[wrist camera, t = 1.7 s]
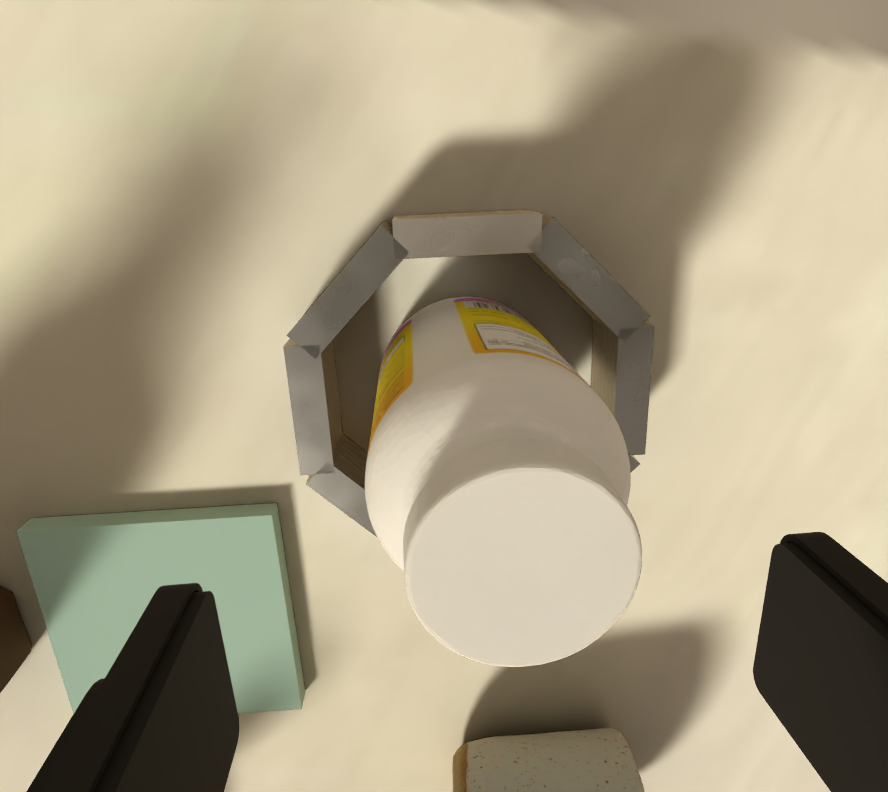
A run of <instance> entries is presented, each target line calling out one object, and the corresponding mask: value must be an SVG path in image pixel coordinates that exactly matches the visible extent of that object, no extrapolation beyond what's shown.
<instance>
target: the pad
mask: <svg viewBox="0 0 888 792" xmlns="http://www.w3.org/2000/svg"><path fill="white" fill-rule="evenodd" d="M16 533H17V536H18V539H19V542H20V545H21V548H22V552H23V555H24V558H25V561H26V564H27V567H28V571H29V574H30V577H31V580H32V583H33V586H34V590H35V593H36V596H37V599H38V602H39V606H40V609H41V612H42V615H43V618H44V621H45V625H46V628H47V631H48V634H49V637H50V640H51V644H52V647H53V650H54V653H55V656H56V659H57V663H58V666H59V669H60V672H61V675H62V678H63V682H64V685H65V688H66V691H67V694H68V698H69V701H70V704H71V707H72V710H73V713H75V711H76V709H77V708H78V706H79V705H80V703H81V701H82V700H83V698H84V696H85V695H86V693H87V691H88V690H89V689H90V688H91V686H92V685H93V684H94V683H95V682H97V681H98V680H100V679H103V678H105V677H106V675H107V674H108V672H109V670H110V669H111V667H112V665H113V663H114V662H115V660H116V658H117V657H118V655H119V653H120V652H121V650H122V648H123V646H124V645H125V643H126V641H127V640H128V638H129V636H130V634H131V633H132V631H133V629H134V628H135V626H136V624H137V623H138V621H139V619H140V617H141V616H142V614H143V612H144V611H145V609H146V607H147V606H148V604H149V602H150V600H151V599H152V597H153V595H154V594H155V592H156V590H157V589H158V588H159V587H161V586H163V585H176V584H188V583H198V584H200V586H201V587H202V590H203V592H204V591H211V592H212V593H213V595H214V598H215V603H216V608H217V613H218V618H219V623H220V628H221V633H222V638H223V643H224V648H225V653H226V658H227V662H228V667H229V672H230V677H231V682H232V687H233V692H234V697H235V702H236V707H237V712H238V713H252V712H266V711H279V710H293V709H302V705H303V700H304V695H305V686H304V679H303V673H302V666H301V659H300V653H299V646H298V639H297V633H296V626H295V619H294V613H293V606H292V599H291V592H290V586H289V579H288V572H287V566H286V559H285V552H284V546H283V539H282V532H281V526H280V519H279V512H278V506H277V503H267V504H251V505H235V506H218V507H202V508H186V509H170V510H154V511H138V512H122V513H106V514H90V515H73V516H57V517H41V518H31V519H30V520H28V521H27V522H26V523H25V524H24V525H23V526H22V527H20V528H19V529H18V530H17V531H16Z"/></svg>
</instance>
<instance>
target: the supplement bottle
mask: <svg viewBox="0 0 888 792" xmlns="http://www.w3.org/2000/svg"><path fill="white" fill-rule="evenodd" d="M629 492H630V462H629V456H628V451H627V447H626V444H625V441H624V438H623V435H622V432H621V430H620V428H619V425H618V423H617V421H616V420H615V418H614V416H613V415H612V413H611V411H610V410H609V408H608V407H607V406H606V404H605V403H604V402H603V401H602V399H601V398H600V397H599V396H598V395H597V393H596V392H595V391H594V390H593V389H592V388H591V387H590V386H589V385H588V384H587V382H586V381H585V380H584V379H583V378H582V377H581V376H580V375H579V374H578V373H577V372H576V371H575V370H574V369H573V368H572V367H571V366H570V364H569V363H568V362H567V361H566V360H565V359H564V358H563V357H562V356H561V355H560V354H559V352H558V351H557V350H556V349H555V348H554V347H553V346H552V345H551V344H550V343H549V342H548V341H547V340H546V338H545V337H544V336H543V335H542V334H541V333H540V332H539V331H538V330H537V329H536V328H535V327H534V326H533V325H532V324H531V323H530V322H529V321H528V320H527V319H526V318H524V317H523V316H522V315H521V314H519V313H518V312H516V311H515V310H513V309H512V308H510V307H508V306H506V305H504V304H502V303H499V302H496V301H493V300H490V299H485V298H480V297H455V298H449V299H444V300H441V301H438V302H435V303H433V304H430V305H428V306H426V307H424V308H423V309H421V310H419V311H418V312H416V313H415V314H414V315H412V316H411V317H410V318H409V319H408V320H407V321H405V322H404V323H403V324H402V325H401V326H400V328H399V329H398V330H397V331H396V333H395V334H394V336H393V337H392V339H391V340H390V342H389V344H388V346H387V348H386V351H385V353H384V356H383V359H382V363H381V367H380V372H379V379H378V385H377V393H376V400H375V407H374V414H373V422H372V429H371V436H370V443H369V449H368V455H367V462H366V471H365V498H366V504H367V510H368V514H369V518H370V521H371V524H372V527H373V529H374V531H375V534H376V535H377V537H378V539H379V541H380V542H381V544H382V546H383V547H384V549H385V551H386V552H387V553H388V555H389V556H390V557H391V558H392V560H393V561H394V562H395V563H396V564H397V565H398V566H399V567H400V568H401V569H402V570H403V571H404V576H405V585H406V591H407V594H408V598H409V601H410V604H411V606H412V608H413V610H414V612H415V614H416V616H417V617H418V619H419V620H420V622H421V623H422V625H423V626H424V627H425V628H426V630H427V631H428V632H429V633H430V634H431V635H433V636H434V637H435V638H436V639H437V640H438V641H439V642H440V643H441V644H443V645H444V646H445V647H447V648H448V649H450V650H452V651H453V652H455V653H457V654H459V655H461V656H463V657H465V658H468V659H470V660H473V661H477V662H480V663H484V664H488V665H495V666H504V667H523V666H533V665H542V664H545V663H549V662H553V661H557V660H559V659H562V658H565V657H568V656H570V655H572V654H574V653H576V652H578V651H580V650H582V649H584V648H586V647H587V646H589V645H590V644H591V643H593V642H594V641H595V640H597V639H598V638H600V637H601V636H602V635H603V634H604V633H605V632H606V631H608V630H609V629H610V628H611V627H612V626H613V625H614V624H615V623H616V621H617V620H618V619H619V618H620V617H621V615H622V614H623V613H624V611H625V610H626V609H627V607H628V605H629V603H630V601H631V599H632V597H633V595H634V593H635V590H636V588H637V585H638V581H639V578H640V573H641V566H642V547H641V540H640V535H639V531H638V528H637V525H636V522H635V520H634V518H633V516H632V514H631V512H630V511H629V509H628V507H627V503H628V498H629Z"/></svg>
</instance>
